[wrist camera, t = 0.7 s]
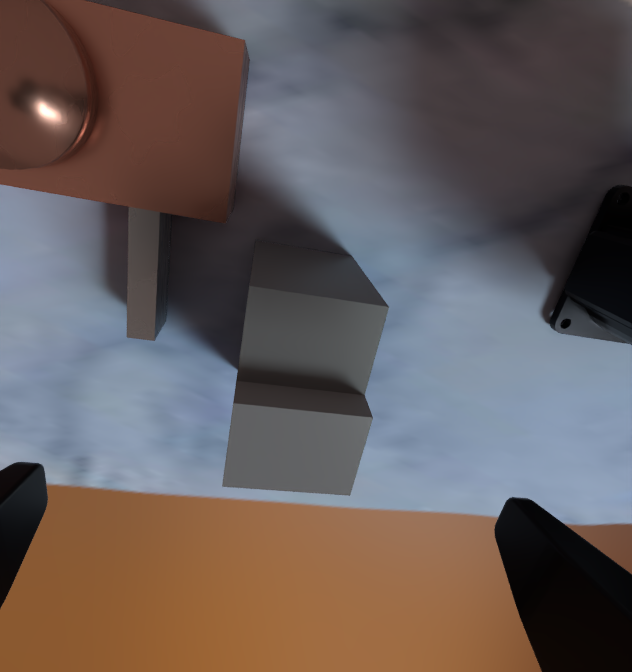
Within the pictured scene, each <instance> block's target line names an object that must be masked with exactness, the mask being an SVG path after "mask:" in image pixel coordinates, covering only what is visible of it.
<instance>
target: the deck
mask: <svg viewBox="0 0 632 672" xmlns="http://www.w3.org/2000/svg"><path fill="white" fill-rule="evenodd" d="M249 61H250V59H249V55H248V51H247V47H246V43H245V40H242V39H238V38H234V37H230V36H226V35H222V34H218V33H214V32H210V31H206V30H202V29H198V28H194V27H190V26H186V25H182V24H178V23H174V22H170V21H166V20H162V19H158V18H154V17H150V16H146V15H142V14H138V13H133V12H129V11H125V10H121V9H117V8H113V7H109V6H105V5H101V4H97V3H93V2H89V1H85V0H0V184H2V185H8V186H13V187H19V188H25V189H30V190H36V191H42V192H48V193H53V194H59V195H65V196H71V197H76V198H82V199H88V200H93V201H99V202H105V203H111V204H116V205H122V206H128V207H129V210H128V282H127V337H128V338H136V339H144V340H152V341H155V339H156V337H157V336H158V334H159V332H160V330H161V329H162V327H163V325H164V323H165V322H166V315H167V296H168V277H169V259H170V240H171V222H172V214H174V215H179V216H185V217H191V218H196V219H202V220H208V221H214V222H219V223H225V224H226V222H227V220H228V219H229V217H230V215H231V213H232V211H233V207H234V198H235V188H236V179H237V170H238V161H239V152H240V143H241V134H242V125H243V116H244V107H245V97H246V88H247V79H248V70H249Z"/></svg>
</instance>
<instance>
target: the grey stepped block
mask: <svg viewBox="0 0 632 672" xmlns="http://www.w3.org/2000/svg"><path fill="white" fill-rule="evenodd" d="M388 309H389V306H388V305H387V304H386V302H385V301H384V300H383V298H382V297H381V295H380V294H379V293H378V291H377V290H376V289H375V287H374V286H373V284H372V283H371V282H370V280H369V279H368V278H367V276H366V275H365V273H364V272H363V271H362V269H361V268H360V266H359V265H358V264H357V262H356V261H355V260H354V258H353V257H352V256H348V255H342V254H336V253H330V252H324V251H318V250H312V249H306V248H301V247H295V246H289V245H283V244H277V243H271V242H265V241H259V240H256V241H255V248H254V255H253V263H252V270H251V277H250V284H249V291H248V299H247V306H246V314H245V321H244V328H243V336H242V343H241V351H240V358H239V366H238V373H237V381H236V388H235V395H234V402H233V410H232V417H231V425H230V432H229V440H228V447H227V455H226V462H225V470H224V477H223V485H222V487H236V488H250V489H265V490H279V491H293V492H307V493H321V494H335V495H350V494H351V490H352V487H353V484H354V480H355V477H356V473H357V470H358V467H359V463H360V460H361V456H362V453H363V450H364V446H365V443H366V439H367V436H368V433H369V429H370V426H371V422H372V419H373V417H372V414H371V411H370V409H369V406H368V403H367V401H366V398H365V391H366V388H367V384H368V381H369V377H370V373H371V370H372V366H373V363H374V359H375V355H376V352H377V348H378V345H379V341H380V337H381V334H382V330H383V327H384V323H385V319H386V316H387V312H388Z"/></svg>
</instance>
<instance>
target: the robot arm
mask: <svg viewBox="0 0 632 672" xmlns="http://www.w3.org/2000/svg"><path fill="white" fill-rule="evenodd" d="M621 194H622V199H621V200H620V202H619V203H617V200H618V197H619V196H620V195H621ZM564 319H565V322H564V323H563V324H562V325H560V324H561V322H562V320H564ZM550 326H551V328H552V329H554V330H555V331H557V332H558V333H561V334H568V335H574V336H581V337H587V338H594V339H601V340H607V341H614V342H620V343H627V344H631V345H632V187H631V186H624V185H617V186H615V187H613V188H611V189H610V190H609V191H608V193H607V194H606V196H605V198H604V200H603V203H602V205H601V207H600V209H599V212H598V214H597V216H596V218H595V221H594V223H593V225H592V227H591V229H590V232H589V234H588V236H587V238H586V241H585V243H584V245H583V247H582V250H581V252H580V254H579V256H578V259H577V261H576V263H575V265H574V268H573V270H572V272H571V274H570V277H569V279H568V281H567V283H566V286H565V288H564V290H563V292H562V294H561V297H560V299H559V301H558V303H557V306H556V308H555V310H554V312H553V315H552V317H551V319H550ZM47 500H48V496H47V487H46V479H45V471H44V467H43V466H42V465H41V464H39V463H29V462H16V463H13V464H11V465H10V466H8V467H6V468H4V469H3V470H1V471H0V608H1V606H2V604H3V603H4V601H5V599H6V596H7V595H8V592H9V590H10V588H11V586H12V584H13V582H14V580H15V577H16V575H17V573H18V571H19V568H20V566H21V564H22V561H23V559H24V557H25V555H26V553H27V550H28V548H29V546H30V544H31V541H32V539H33V537H34V535H35V533H36V530H37V528H38V526H39V524H40V521H41V519H42V517H43V515H44V512H45V510H46V506H47ZM495 538H496V542H497V545H498V548H499V552H500V555H501V558H502V561H503V565H504V568H505V571H506V574H507V578H508V581H509V584H510V588H511V591H512V594H513V597H514V600H515V604H516V607H517V609H518V612H519V615H520V618H521V621H522V623H523V626H524V629H525V631H526V634H527V636H528V639H529V641H530V643H531V646H532V648H533V651H534V653H535V656H536V658H537V661H538V663H539V665H540V668H541V671H542V672H632V574H630V573H629V572H628V571H627V570H625V569H624V568H622V567H621V566H620V565H618V564H617V563H615V562H614V561H613V560H612V559H610V558H609V557H608V556H606V555H605V554H603V553H602V552H601V551H600V550H598V549H597V548H595V547H594V546H593V545H591V544H590V543H589V542H587V541H586V540H585V539H583V538H582V537H581V536H579V535H578V534H577V533H575V532H574V531H573V530H571V529H570V528H568V527H567V526H566V525H565V524H563V523H562V522H561V521H559V520H558V519H556V518H555V517H554V516H552V515H551V514H550V513H548V512H547V511H546V510H544V509H543V508H542V507H540V506H539V505H538V504H536V503H535V502H534V501H532V500H530V499H527V498H516V497H512V498H509V499H508V500H507V501H506V503H505V505H504V507H503V509H502V511H501V513H500V515H499V518H498V520H497V522H496V525H495Z"/></svg>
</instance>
